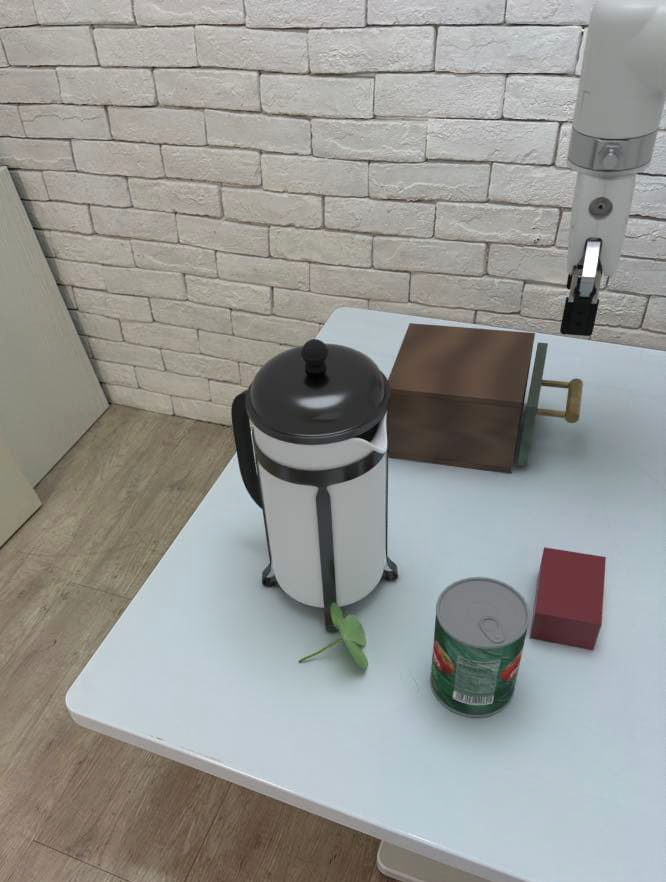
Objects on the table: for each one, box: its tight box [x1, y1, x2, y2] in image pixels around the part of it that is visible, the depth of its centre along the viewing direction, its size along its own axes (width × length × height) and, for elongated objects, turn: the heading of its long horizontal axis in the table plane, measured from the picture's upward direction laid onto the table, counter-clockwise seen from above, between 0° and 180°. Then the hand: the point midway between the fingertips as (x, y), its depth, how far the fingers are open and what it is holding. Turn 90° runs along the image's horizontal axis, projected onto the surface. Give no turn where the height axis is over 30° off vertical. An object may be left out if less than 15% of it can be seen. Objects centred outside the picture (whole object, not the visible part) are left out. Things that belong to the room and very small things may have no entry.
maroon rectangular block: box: [529, 546, 607, 651], centre depth 80 cm, size 9×6×4 cm
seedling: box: [298, 602, 369, 669], centre depth 80 cm, size 7×8×7 cm
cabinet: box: [387, 322, 536, 474], centre depth 100 cm, size 16×15×11 cm
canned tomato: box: [429, 576, 531, 718], centre depth 73 cm, size 8×8×11 cm
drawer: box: [516, 342, 584, 467], centre depth 99 cm, size 19×13×9 cm
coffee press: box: [230, 338, 399, 631], centre depth 78 cm, size 17×16×30 cm
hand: (578, 310), depth 87 cm, fingers open, 9 cm apart
